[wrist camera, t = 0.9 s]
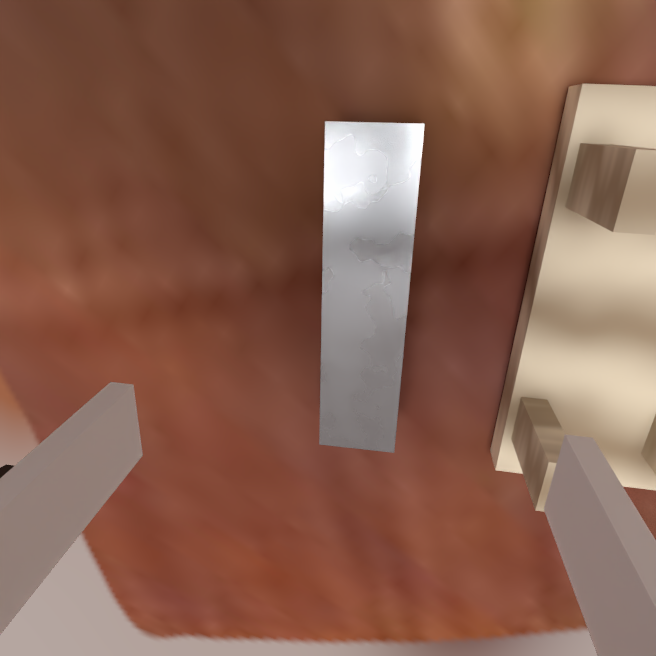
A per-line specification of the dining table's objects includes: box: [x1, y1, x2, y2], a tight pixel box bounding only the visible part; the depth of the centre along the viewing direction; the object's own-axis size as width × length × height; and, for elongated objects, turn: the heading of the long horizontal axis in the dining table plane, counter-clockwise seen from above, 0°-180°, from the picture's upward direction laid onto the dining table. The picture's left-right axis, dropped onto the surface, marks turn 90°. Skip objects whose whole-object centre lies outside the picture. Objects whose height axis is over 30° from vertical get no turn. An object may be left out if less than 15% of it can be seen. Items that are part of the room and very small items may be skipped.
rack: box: [490, 84, 656, 512], centre depth 24 cm, size 22×10×8 cm, turn 177°
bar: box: [319, 121, 425, 453], centre depth 27 cm, size 18×4×4 cm, turn 179°
